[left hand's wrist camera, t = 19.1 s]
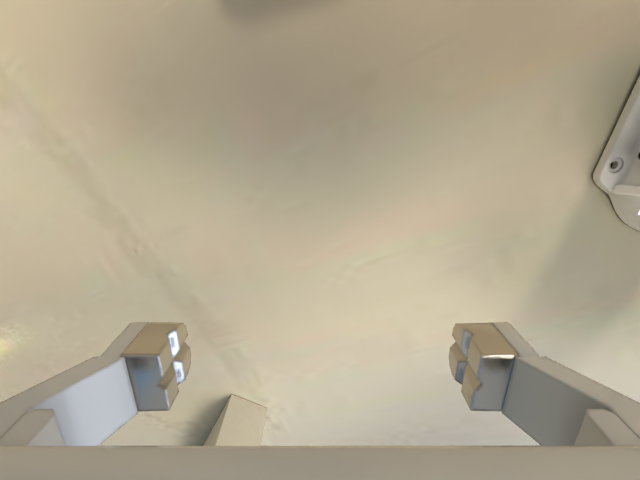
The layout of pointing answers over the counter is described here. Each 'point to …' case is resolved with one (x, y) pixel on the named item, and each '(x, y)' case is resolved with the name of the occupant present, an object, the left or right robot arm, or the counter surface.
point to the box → (238, 424)
